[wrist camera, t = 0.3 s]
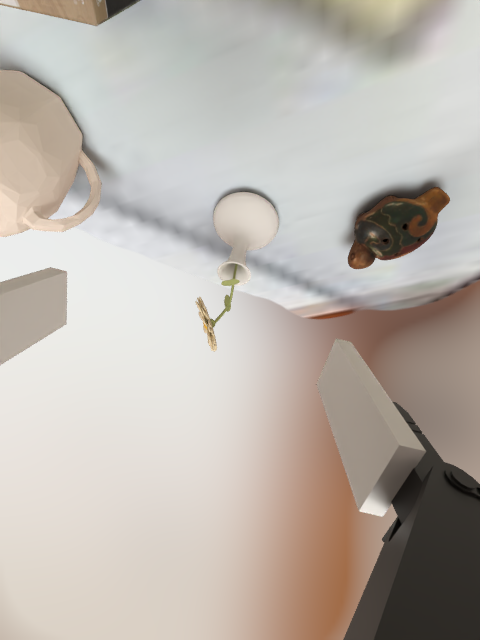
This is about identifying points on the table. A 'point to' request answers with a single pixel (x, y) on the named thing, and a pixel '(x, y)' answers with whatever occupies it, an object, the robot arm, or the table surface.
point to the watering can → (38, 158)
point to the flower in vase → (239, 243)
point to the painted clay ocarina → (395, 227)
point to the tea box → (74, 8)
